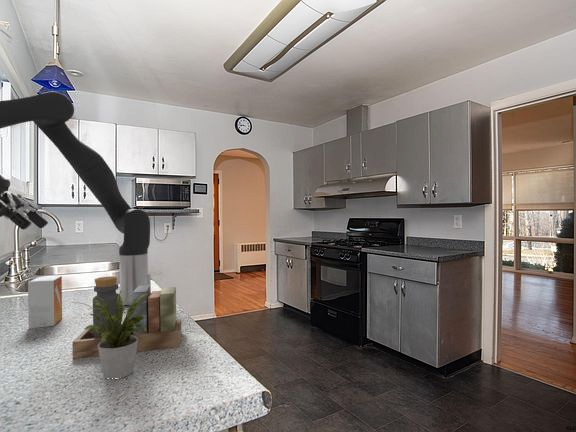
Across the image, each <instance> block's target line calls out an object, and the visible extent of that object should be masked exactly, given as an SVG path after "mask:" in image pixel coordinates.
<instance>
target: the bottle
mask: <svg viewBox="0 0 576 432" xmlns="http://www.w3.org/2000/svg"><path fill="white" fill-rule="evenodd" d="M117 281H118V277H117V276H115V275H114V276H113V275H111V276H102V277H97V278H95V279H94V283H95V286H94V287H93V292H95V293H96V295H95V296H94V297H93V298H92V308H98V306H97V305H96V304H95V303H94V302H96V301H98V302H99V303H100V304H101V305H102V306H103V307H104V308H105V305H104V303H103V301H102V300H101V299H103V300H104V301H105V303H106V304H107V307H108V310H109V313H110V315H111V316H114V315H116V304H117V298H118V295H119V293H118V292H117V290H118V289H119V284H118V283H117ZM97 297H99V298H97ZM100 298H101V299H100ZM93 299H94V300H96V301H94V300H93ZM119 302H120V297H119ZM96 303H97V302H96ZM105 309H106V308H105ZM94 310H95V311H96V312H97V313H98V314H99V315H98V314H97V313H96V312H95V311H94ZM94 310H93V309H92V314H95V315H96V316H98V317H99V318H100V317H101V318H102V319H103V320H104V321H103V320H102V319H101V318H100V319H101V321H102V322H103V324H104V325H105V327H106V328H107V330H108V332H110V330H109V329H110V326H109V324H108V322H107V320H106V318H105V317H104V316H103V314H102V313H101V312H100V311H98V310H96V309H94ZM118 311H119V306H118ZM104 322H105V323H106V324H107V325H106V324H105V323H104ZM92 325H96V326H98V327H100V328H102V329H103V330H104V328H103V327H102V325H101V324H100V322H99V321H98V320H97V319H96V318H95V317H94V316H92ZM121 325H122V323H121ZM107 326H108V327H109V328H108V327H107ZM120 328H121V327H120ZM93 330H96V329H93ZM104 331H105V330H104ZM97 332H100V331H94V338H102V337H101V334H99V333H97ZM110 335H111V334H110ZM111 337H112V336H111Z"/></svg>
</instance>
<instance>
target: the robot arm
mask: <svg viewBox="0 0 576 432" xmlns="http://www.w3.org/2000/svg"><path fill="white" fill-rule="evenodd" d="M74 114H75V106H74V104H73V102H72V101H71V99H70V98H69V97H67V95H65V94H64V93H61V92H59V91H52V90H49V91H46V92H43V93H40V94H36V95H32V96H26V97H21V98H15V99H8V100H6V99H5V100H0V129H4V128H9V127H12V126H16V125H19V124H23V123H28V122H29V123H30V122H33V123H34V124H35V125H36V126H37V127H38V129H39V130H41V132H42V133H43V134H44V135H45V136H46V137H47V138H48V139H49V141H51V142H52V143H53V146H55V147H56V148H57V149H58V150H59V152H60V154H61V155H62V156H63V157H64V158H65V159H66V161H67V162H68V164H69V165H70V166H71V167H72V169H73V170H74V172H75V173H76V174H77V176H78V178H79V179H80V180H81V181H82V182H83V183H84V185H85V186H86V187H87V188H88V190H89V191H90V192H91V193H92V195H93V196H94V197H95V199H96V200H97V201H98V203H100V204H101V206H102V207H103V209H104V210H105V212H106V213H107V215H108V216H109V218H110V220H111V221H112V223H113V225H114V226H115V228H116V229H117V230H118V232H120V233H121V234H123V242H122V245H120V246H119V249H118V252H119V253H118V258H119V260H118V261H119V292H120V291H121V290H122V291H121V294H120V297H121V298H122V300H123V304H124V306H132V305H133V292H134V290H135V289H136V288H137V287H138V286H145V285H150V288H151V289H152V283H151V281H152V279H151V274H150V273H149V258H148V257H149V256H148V253H149V252H148V251H149V248H150V247H149V246H150V244H151V221H150V220H151V219H150V217H149V216H150V215H148V214H147V212H146V211H144V210H143V209H139V208H138V209H137V208H132V207H131V206H130V205H129V204H128V202H127V201H126V200H125V198H124V197H123V196H122V194H121V191H120V189H119V186H118V183H117V179H116V177H115V174H114V172H113V170H112V169H111V167H110V166H109V165H108V163H107V161H106V160H105V159H104V158H103V157H102V155H101V154H100V153H98V152H97V151H96V150H94V149H93V148H91V147H90V146H89V145H88V144H86V143H84V142H83V141H81V140H80V139H79V138H78V137H77V136H76V135H75V134H74V133H73V132H72V130H71V129H70V127H68V125H67V124H66V123H67V122H69V121H70V120H71V119H72V118H73V116H74ZM10 186H11V181H10V179H8V178H7V177H6V176H5V175H3V174H2V173H1V172H0V218H2V217H4V218H5V219H7V220H10V221H11V222H12V223H14V224H15V225H16V226H17V227H18V228H20V229H21V230H27V229H28V228H29V227H31V225H32V224H34V225H35V226H36V227H37V228H39V229H44V227H46V226H47V225H48V224H49V221H48V220H46V218H44V217H43V216H42V215H40V214H39V213H38V211H39V209H38V208H37V207H36V206H35V204H32V202H30V201H29V200H28V199H26V198H25V197H24V196H23V195H22V194H19V193H17V194H16V193H14V192H11V191H9V188H10ZM131 295H132V296H131ZM130 296H131V297H130ZM129 297H130V298H129ZM128 298H129V299H128ZM127 299H128V300H127ZM126 300H127V301H126ZM125 301H126V302H125ZM124 302H125V303H124Z"/></svg>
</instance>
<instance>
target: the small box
mask: <svg viewBox="0 0 576 432" xmlns="http://www.w3.org/2000/svg"><path fill="white" fill-rule="evenodd" d="M62 278H63V276H62V275H56V276H54V275H53V276H38V277H36V278H34V279H32V280H30V281H28V282H27V295H28V296H27V300H28V301H27V303H28V304H27V305H28V307H27V308H28V309H27V310H28V311H27V312H28V329H36V328H46V327H47V328H48V327H53V326H55V325H56V324H57V323H58V322H59V321H60V320H61V319H63V279H62Z"/></svg>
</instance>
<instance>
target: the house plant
mask: <svg viewBox="0 0 576 432" xmlns="http://www.w3.org/2000/svg"><path fill="white" fill-rule="evenodd" d="M121 291H122V290H121ZM121 291H120V290H119V293H118V294H119V295H118V298H117V304H116V315H114V316H111V315H110V313H109V310H108V307H107V304H106V303H105V301H104V300H103V299H101V298H100V299H101V300H102V301H103V303H104V305H105V308H106V309H105V308H104V307H103V306H102V305H101V304H100V303H99V302H98V301H96V300H94V299H93V298H92V301H93V300H94V301H96V302H97V303H96V302H94V303H95V304H96V305H97V306H98V308H93V306H90V305H89V304H86V303H83V302H80V304H81V305H82V304H83V305H84V306H88V307H89V308H88V309H87V310H88V311H89V310H90V309H91V310H92V311H93V310H94V309H96V310H98V311H100V312H101V313H102V314H103V316H104V317H105V318H106V320H107V322H108V324H109V326H110V329H109V330H110V332H108V330H107V328H106V327H105V325H104V324H103V322H102V321H101V319H102V318H101V317H100V318H101V319H100V318H99V317H98V316H96V315H95V314H93V313H89V315H90V316H92V317H93V316H94V317H95V318H96V319H97V320H98V321H99V322H100V324H101V325H102V327H103V328H104V330H105V331H104V330H103V329H102V328H100V327H98V326H96V325H93V324H89V325H87V326H86V327H85V328H84V330H85V329H96V330H91V331H89V332H91V333H93V332H92V331H100V332H97V333H99V334H101V337H102V341H101V342H100V343H99V344H98V350H99V355H100V356H99V358H100V364H101V368H102V373H103V378H104V377H105V378H109V379H112V378H113V379H115V378H120V377H124V376H127V375H129V374H130V373H132V372H133V373H134V369H135V363H136V355H137V352H136V350H137V344H138V338H137V337H136V336H131V332H133V333H135V334H137V331H138V330H137V329H133V328H134V327H140V328H142V329H144V330H146V332H147V327H146V326H145V325H142V324H140V325H136V324H137V323H138V322H139V321H141V320H143V319H144V318H145V317H142V316H145V315H142V316H137V317H134V318H131V316H132V315H133V313H134V312H135V310H136V309H137V308H138V307H139V306H140V305H139V306H138V304H139V303H140V300H141V299H142V297H143V296H145V295H146V294H147V293H146V294H143V295H142V296H140V297H139V298H138V299H137V300H136V301H135V302H134V303H133V305H130V307H129V308H127V307H126V308H124V306H125V305H124V304H123V300H122V298H121V297H120V294H121ZM131 296H132V295H131ZM131 296H130V297H131ZM119 297H120V302H119ZM130 297H129V298H130ZM97 298H99V297H97ZM129 298H128V299H129ZM128 299H127V300H128ZM127 300H126V301H127ZM126 301H125V302H126ZM148 301H149V300H148ZM125 302H124V303H125ZM145 302H146V301H145ZM72 304H78V302H77V301H76V302H75V301H74V302H72ZM142 304H143V303H142ZM118 306H119V311H118ZM137 306H138V307H137ZM136 307H137V308H136ZM135 308H136V309H135ZM125 310H127V312H126V311H125ZM94 311H95V310H94ZM95 312H96V311H95ZM96 313H97V312H96ZM97 314H98V313H97ZM124 314H125V317H124V319H123V315H124ZM85 315H88V313H86V314H85ZM98 315H99V314H98ZM130 318H131V319H130ZM145 319H146V318H145ZM102 320H103V319H102ZM103 321H104V320H103ZM104 323H105V322H104ZM105 324H106V323H105ZM121 324H122V325H121ZM106 325H107V324H106ZM107 327H108V326H107ZM120 327H121V328H120ZM108 328H109V327H108ZM110 334H111V335H110ZM111 336H112V337H111ZM137 336H138V335H137ZM103 339H105V340H103ZM133 373H132V374H133ZM129 376H130V375H129ZM127 377H128V376H127ZM105 378H104V379H105Z"/></svg>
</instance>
